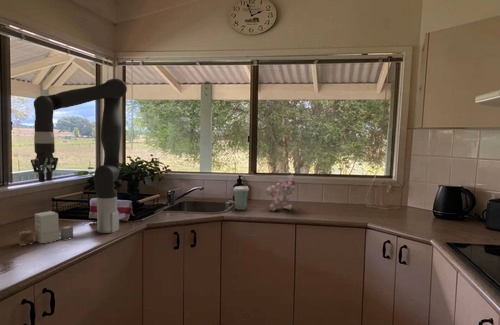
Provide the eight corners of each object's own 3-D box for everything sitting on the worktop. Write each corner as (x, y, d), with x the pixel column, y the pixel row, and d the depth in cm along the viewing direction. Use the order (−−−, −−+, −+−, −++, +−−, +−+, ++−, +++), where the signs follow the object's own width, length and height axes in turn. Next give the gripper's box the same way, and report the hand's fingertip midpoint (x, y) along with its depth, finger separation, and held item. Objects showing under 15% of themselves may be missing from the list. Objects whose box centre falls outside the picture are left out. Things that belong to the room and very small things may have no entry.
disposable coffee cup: (239, 211, 216) (240, 188, 214) (229, 208, 223) (229, 186, 222) (251, 209, 223) (252, 187, 221) (241, 206, 231) (241, 184, 229)
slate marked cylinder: (75, 237, 156) (75, 226, 155) (68, 240, 151) (68, 229, 150) (65, 236, 157) (65, 225, 156) (58, 239, 152) (58, 228, 151)
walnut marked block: (32, 241, 149) (32, 229, 149) (33, 244, 145) (33, 232, 145) (19, 243, 146) (18, 231, 146) (19, 246, 142) (19, 234, 142)
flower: (263, 202, 238) (262, 173, 225) (294, 199, 239) (295, 170, 226) (266, 221, 221) (265, 190, 208) (300, 217, 222) (301, 187, 209)
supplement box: (52, 237, 155) (52, 210, 154) (59, 240, 150) (58, 213, 149) (34, 241, 149) (34, 213, 148) (41, 244, 144) (40, 216, 143)
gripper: (39, 142, 138) (41, 183, 140) (63, 142, 152) (64, 179, 154) (23, 142, 139) (25, 183, 141) (48, 141, 153) (49, 178, 155)
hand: (45, 181), depth 147 cm, fingers open, 3 cm apart
